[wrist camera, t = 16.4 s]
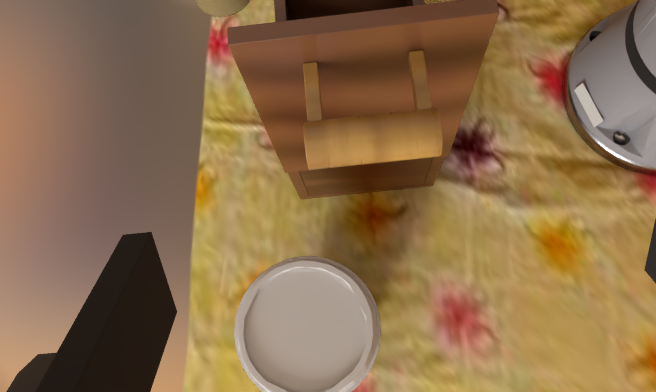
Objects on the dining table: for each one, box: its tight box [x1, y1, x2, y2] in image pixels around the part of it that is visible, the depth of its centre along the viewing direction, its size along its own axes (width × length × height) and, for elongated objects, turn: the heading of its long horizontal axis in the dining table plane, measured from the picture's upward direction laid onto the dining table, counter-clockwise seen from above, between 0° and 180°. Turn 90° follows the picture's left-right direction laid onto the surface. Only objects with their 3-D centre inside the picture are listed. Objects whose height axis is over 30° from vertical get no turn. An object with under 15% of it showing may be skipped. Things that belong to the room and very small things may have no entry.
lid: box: [228, 0, 499, 173], centre depth 31 cm, size 17×12×6 cm
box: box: [274, 0, 445, 199], centre depth 47 cm, size 16×12×9 cm
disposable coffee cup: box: [235, 256, 381, 392], centre depth 41 cm, size 10×10×12 cm
